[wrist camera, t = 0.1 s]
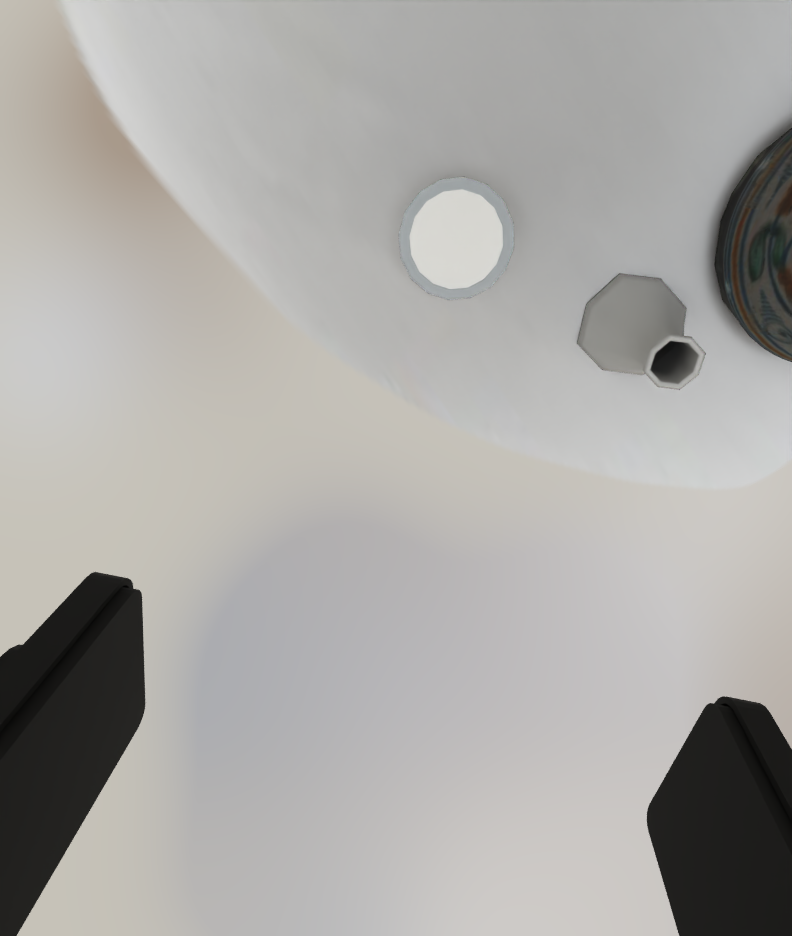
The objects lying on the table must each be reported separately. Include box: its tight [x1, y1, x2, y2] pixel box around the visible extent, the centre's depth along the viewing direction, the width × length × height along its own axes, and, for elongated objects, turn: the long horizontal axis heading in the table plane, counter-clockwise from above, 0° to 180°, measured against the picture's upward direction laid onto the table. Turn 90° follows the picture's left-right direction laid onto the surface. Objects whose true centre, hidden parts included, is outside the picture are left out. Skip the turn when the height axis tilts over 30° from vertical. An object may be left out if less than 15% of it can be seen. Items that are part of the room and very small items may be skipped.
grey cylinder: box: [399, 177, 514, 300], centre depth 38 cm, size 7×7×7 cm
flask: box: [577, 274, 706, 390], centre depth 38 cm, size 7×7×10 cm
